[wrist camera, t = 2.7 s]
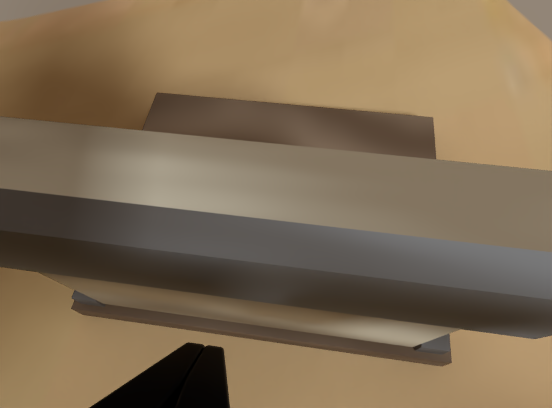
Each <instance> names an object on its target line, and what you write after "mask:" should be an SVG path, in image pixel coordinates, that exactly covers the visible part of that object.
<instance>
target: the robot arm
mask: <svg viewBox="0 0 552 408" xmlns="http://www.w3.org/2000/svg"><path fill="white" fill-rule="evenodd" d="M90 408H230V404H229V394H228V385H227V375H226V366H225V357H224V349H223V348H222V347H217V346H210V345H208V346H206V347H205V346H204V345H203V344H196V343H186V344H184V345H183V346H181V347H180V348H178V349H177V350H175V351H174V352H172V353H171V354H169V355H168V356H166V357H165V358H163V359H162V360H160V361H159V362H157V363H156V364H154V365H153V366H151V367H150V368H148V369H147V370H145V371H144V372H142V373H141V374H139V375H138V376H136V377H135V378H133V379H132V380H130V381H129V382H127V383H126V384H124V385H123V386H121V387H120V388H118V389H117V390H115V391H114V392H112V393H111V394H109V395H108V396H106V397H105V398H103V399H102V400H100V401H99V402H97V403H96V404H94V405H93V406H91V407H90Z"/></svg>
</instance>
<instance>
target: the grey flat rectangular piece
mask: <svg viewBox="0 0 552 408" xmlns="http://www.w3.org/2000/svg"><path fill="white" fill-rule="evenodd" d="M0 267H5V268H12V269H20V270H27V271H34V272H39V273H41V274H43V275H45V276H47V277H49V278H51V279H53V280H55V281H57V282H59V283H61V284H64V285H66V286H68V287H70V288H72V289H74V290H76V291H78V292H80V293H82V294H84V295H86V296H88V297H90V298H93V299H95V300H97V301H99V302H101V303H103V304H109V305H116V306H123V307H130V308H137V309H144V310H151V311H158V312H166V313H173V314H180V315H187V316H194V317H201V318H208V319H215V320H222V321H230V322H237V323H244V324H251V325H258V326H265V327H272V328H279V329H287V330H294V331H301V332H308V333H315V334H322V335H329V336H336V337H343V338H351V339H358V340H365V341H372V342H379V343H386V344H393V345H400V346H408V347H414V346H417V345H419V344H422V343H425V342H428V341H430V340H433V339H436V338H438V337H441V336H444V335H447V334H449V333H452V332H455V331H457V330H460V329H464V330H471V331H479V332H486V333H493V334H501V335H508V336H516V337H523V338H530V339H538V338H542V337H547V336H551V335H552V171H548V170H537V169H527V168H517V167H507V166H497V165H487V164H477V163H466V162H456V161H446V160H436V159H426V158H416V157H406V156H395V155H385V154H375V153H365V152H355V151H345V150H335V149H325V148H314V147H304V146H294V145H284V144H274V143H264V142H254V141H243V140H233V139H223V138H213V137H203V136H193V135H183V134H172V133H162V132H152V131H142V130H132V129H122V128H112V127H101V126H91V125H81V124H71V123H61V122H51V121H41V120H31V119H20V118H10V117H0Z"/></svg>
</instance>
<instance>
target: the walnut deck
mask: <svg viewBox="0 0 552 408" xmlns="http://www.w3.org/2000/svg"><path fill="white" fill-rule="evenodd" d="M142 131H152V132H162V133H172V134H183V135H193V136H203V137H213V138H223V139H233V140H243V141H254V142H264V143H274V144H284V145H294V146H304V147H314V148H325V149H335V150H345V151H355V152H365V153H375V154H385V155H395V156H406V157H416V158H426V159H436V150H435V137H434V124H433V117H423V116H412V115H401V114H390V113H379V112H367V111H356V110H345V109H334V108H323V107H311V106H300V105H289V104H278V103H267V102H256V101H244V100H233V99H222V98H211V97H200V96H189V95H177V94H166V93H157V94H156V97H155V99H154V102H153V104H152V107H151V109H150V112H149V114H148V117H147V119H146V122H145V124H144V127H143V129H142ZM72 299H74V303H73V305H72V308H71V309H73V310H75V311H77V312H79V313H80V314H82V315H89V316H96V317H103V318H110V319H117V320H124V321H131V322H138V323H145V324H152V325H159V326H165V327H172V328H179V329H186V330H193V331H200V332H207V333H214V334H221V335H228V336H235V337H242V338H249V339H256V340H263V341H270V342H277V343H284V344H291V345H298V346H305V347H312V348H318V349H325V350H332V351H339V352H346V353H353V354H360V355H367V356H374V357H381V358H388V359H395V360H402V361H409V362H416V363H423V364H430V365H437V366H444V365H447V364H450V363H452V361H451V348H450V335H449V334H447V335H444V336H441V337H438V338H436V339H433V340H430V341H428V342H425V343H422V344H419V345H417V346H414V347H408V346H400V345H393V344H386V343H379V342H372V341H365V340H358V339H351V338H343V337H336V336H329V335H322V334H315V333H308V332H301V331H294V330H287V329H279V328H272V327H265V326H258V325H251V324H244V323H237V322H230V321H222V320H215V319H208V318H201V317H194V316H187V315H180V314H173V313H166V312H158V311H151V310H144V309H137V308H130V307H123V306H116V305H109V304H103V303H101V302H99V301H97V300H95V299H93V298H90V297H88V296H86V295H84V294H82V293H80V292H78V291H76V290H75V291H74V293H73V295H72Z"/></svg>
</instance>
